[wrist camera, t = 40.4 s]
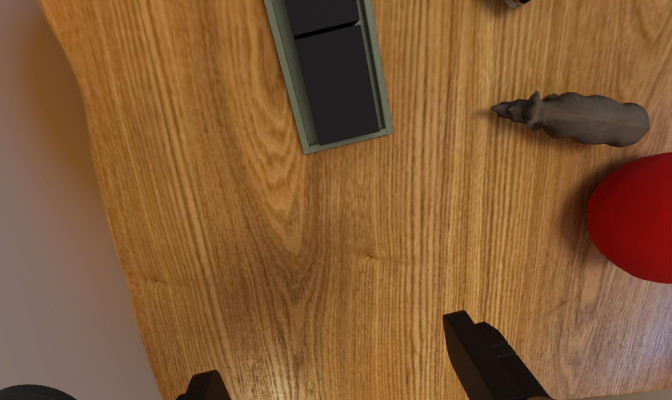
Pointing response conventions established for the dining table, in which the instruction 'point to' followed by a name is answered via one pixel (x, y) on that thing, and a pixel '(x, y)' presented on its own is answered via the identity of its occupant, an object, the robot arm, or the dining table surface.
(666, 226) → the tomato
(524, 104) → the rhino figurine
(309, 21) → the pad
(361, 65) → the pad
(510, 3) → the miniature car
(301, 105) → the backing tray
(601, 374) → the dining table surface
